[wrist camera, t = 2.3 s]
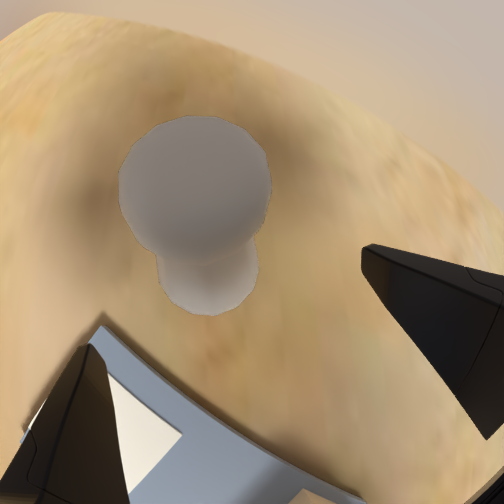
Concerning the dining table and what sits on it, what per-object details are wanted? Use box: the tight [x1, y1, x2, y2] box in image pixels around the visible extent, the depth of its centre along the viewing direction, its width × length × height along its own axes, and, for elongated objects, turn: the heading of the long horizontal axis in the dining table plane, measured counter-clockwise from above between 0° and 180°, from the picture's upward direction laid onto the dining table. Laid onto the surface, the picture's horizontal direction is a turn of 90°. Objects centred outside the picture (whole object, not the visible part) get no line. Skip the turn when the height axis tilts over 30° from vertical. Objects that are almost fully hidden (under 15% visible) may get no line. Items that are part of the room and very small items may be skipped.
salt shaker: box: [118, 116, 272, 316], centre depth 14 cm, size 6×6×13 cm
